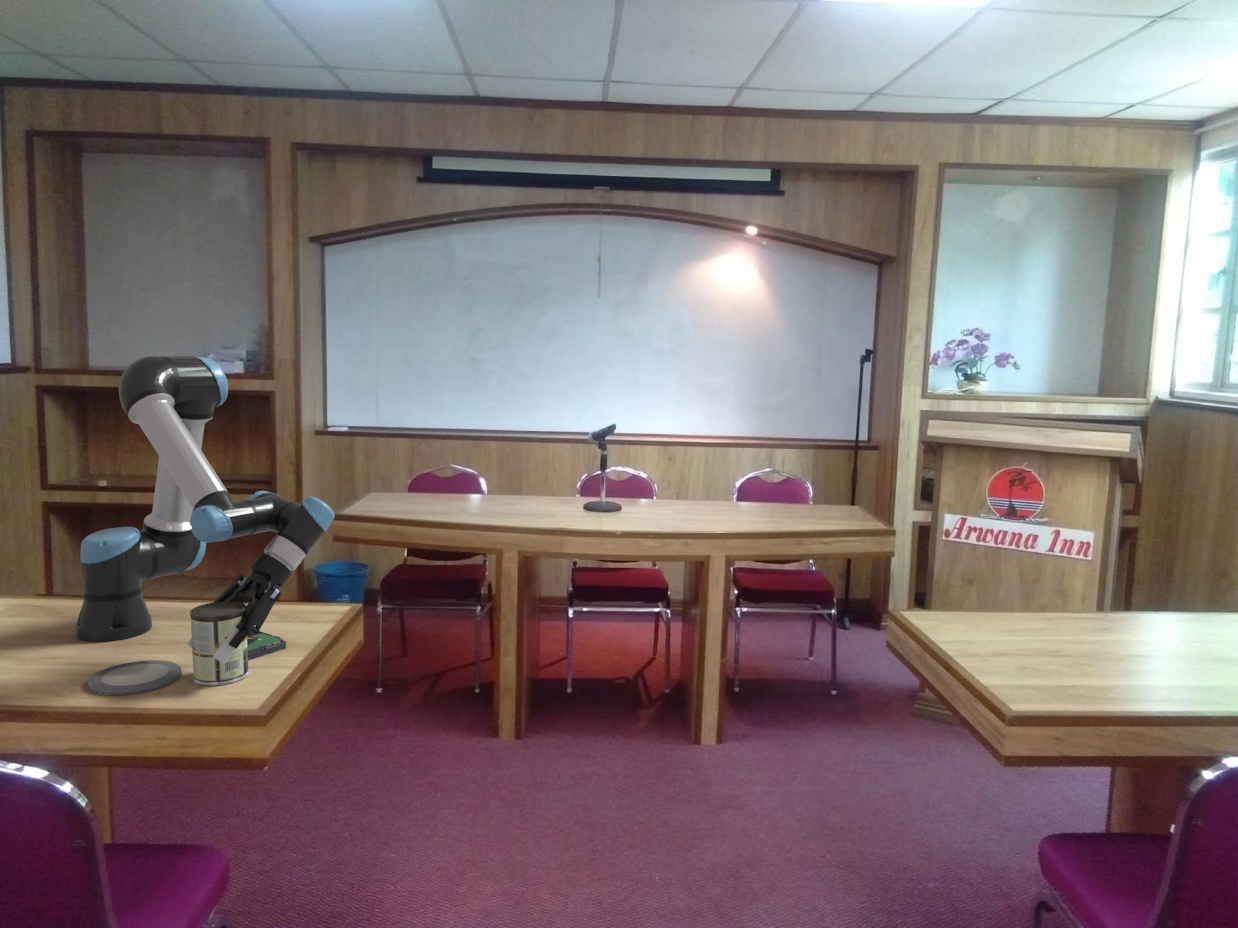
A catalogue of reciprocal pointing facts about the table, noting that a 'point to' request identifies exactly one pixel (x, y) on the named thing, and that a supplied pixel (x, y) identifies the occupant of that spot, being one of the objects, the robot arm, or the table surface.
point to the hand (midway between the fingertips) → (204, 653)
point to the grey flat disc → (134, 677)
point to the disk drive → (263, 644)
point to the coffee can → (217, 643)
